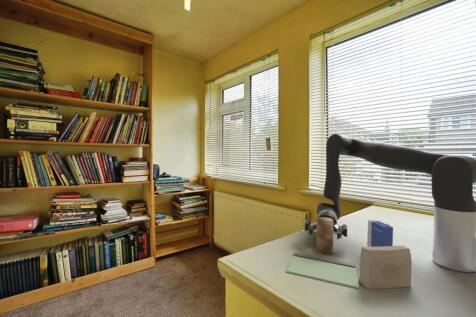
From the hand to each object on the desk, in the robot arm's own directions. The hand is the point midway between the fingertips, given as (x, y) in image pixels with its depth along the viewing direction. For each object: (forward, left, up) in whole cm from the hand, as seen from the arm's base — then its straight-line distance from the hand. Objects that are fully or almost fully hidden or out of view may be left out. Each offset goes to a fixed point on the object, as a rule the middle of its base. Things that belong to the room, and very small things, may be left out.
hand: (324, 234), depth 74 cm
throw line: (0, +5, -7) cm, 8 cm away
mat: (0, +12, -7) cm, 14 cm away
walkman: (-16, -3, -7) cm, 18 cm away
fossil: (-15, +12, -7) cm, 21 cm away
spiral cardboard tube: (0, -2, -7) cm, 7 cm away
